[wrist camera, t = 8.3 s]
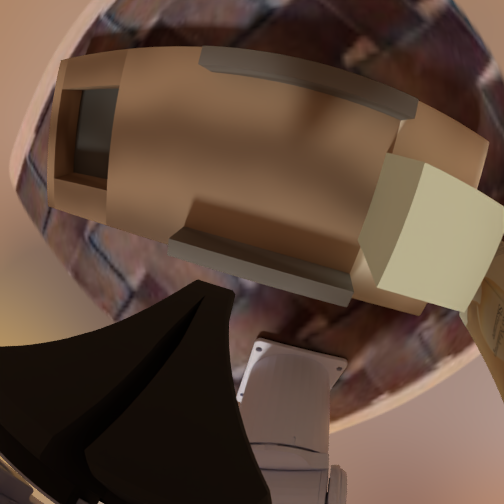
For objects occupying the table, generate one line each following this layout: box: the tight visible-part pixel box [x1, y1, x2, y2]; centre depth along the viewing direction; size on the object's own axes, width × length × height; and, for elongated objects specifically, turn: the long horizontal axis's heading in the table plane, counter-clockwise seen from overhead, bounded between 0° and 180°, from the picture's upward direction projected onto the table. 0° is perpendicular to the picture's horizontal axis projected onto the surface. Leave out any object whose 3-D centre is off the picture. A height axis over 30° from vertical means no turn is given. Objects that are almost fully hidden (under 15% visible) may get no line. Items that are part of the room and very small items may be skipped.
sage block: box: [358, 153, 504, 312], centre depth 11 cm, size 5×5×5 cm
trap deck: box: [47, 46, 489, 316], centre depth 14 cm, size 12×29×4 cm, turn 78°
